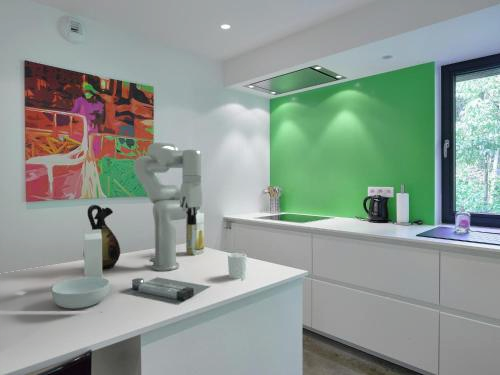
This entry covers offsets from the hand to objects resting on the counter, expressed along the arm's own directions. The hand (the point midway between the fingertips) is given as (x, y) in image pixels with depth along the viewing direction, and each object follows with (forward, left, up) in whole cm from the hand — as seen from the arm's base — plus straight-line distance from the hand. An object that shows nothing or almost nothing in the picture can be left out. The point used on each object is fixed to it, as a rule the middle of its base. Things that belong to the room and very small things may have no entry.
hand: (191, 224), depth 134 cm
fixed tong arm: (+3, -22, -22) cm, 31 cm away
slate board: (0, -16, -23) cm, 28 cm away
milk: (-30, -23, -23) cm, 44 cm away
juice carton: (-26, +40, -23) cm, 53 cm away
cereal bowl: (-17, -38, -23) cm, 48 cm away
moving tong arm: (+1, -20, -22) cm, 29 cm away
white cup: (+16, +10, -23) cm, 30 cm away
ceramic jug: (-46, -6, -23) cm, 52 cm away
